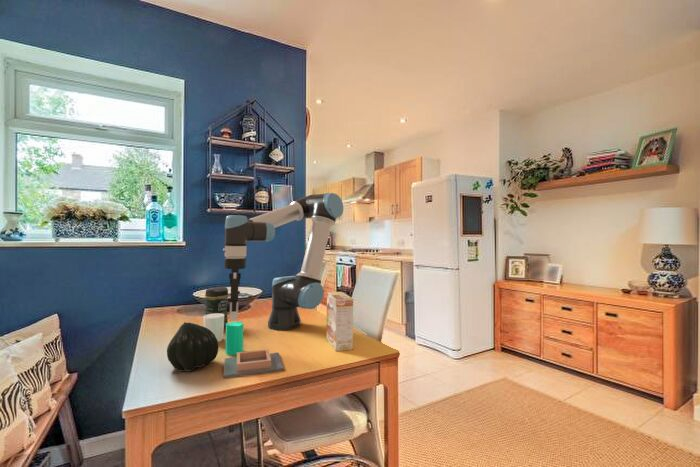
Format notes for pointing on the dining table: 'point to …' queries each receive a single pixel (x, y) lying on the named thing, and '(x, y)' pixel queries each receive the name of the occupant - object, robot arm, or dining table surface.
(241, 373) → the candle plate
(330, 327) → the coffeecake box
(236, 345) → the candle
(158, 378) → the dining table surface
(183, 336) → the squash
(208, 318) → the white cup
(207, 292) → the coffee jar
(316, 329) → the dining table surface
